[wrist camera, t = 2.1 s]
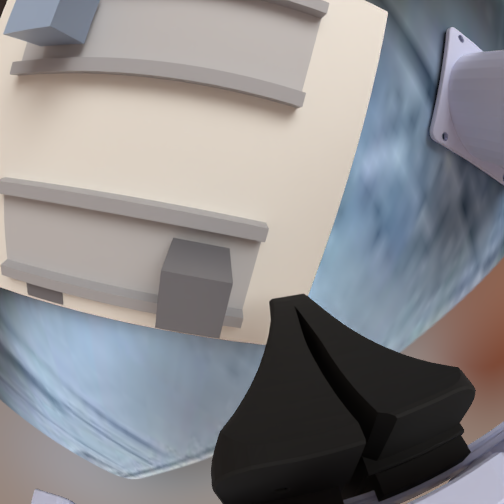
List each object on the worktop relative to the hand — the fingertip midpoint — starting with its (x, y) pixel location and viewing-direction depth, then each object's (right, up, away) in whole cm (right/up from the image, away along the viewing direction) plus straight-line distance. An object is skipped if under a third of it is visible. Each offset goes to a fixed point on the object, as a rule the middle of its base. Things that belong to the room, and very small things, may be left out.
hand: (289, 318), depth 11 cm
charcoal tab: (-4, +2, +2) cm, 5 cm away
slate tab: (-9, +12, -3) cm, 16 cm away
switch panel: (-7, +8, +1) cm, 10 cm away
